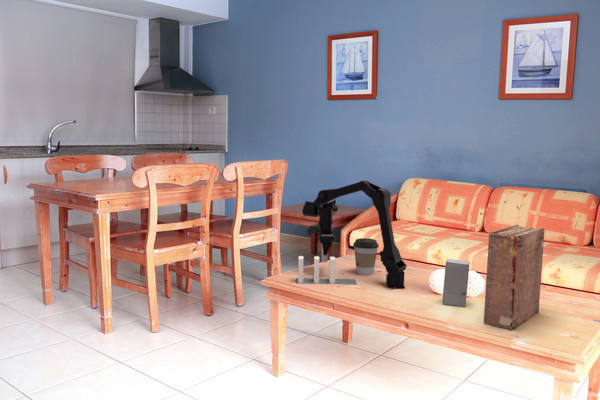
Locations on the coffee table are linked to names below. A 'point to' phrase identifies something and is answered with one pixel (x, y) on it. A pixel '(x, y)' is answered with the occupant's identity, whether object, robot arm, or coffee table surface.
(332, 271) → the ivory domino
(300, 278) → the ivory end domino
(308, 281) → the mat
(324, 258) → the teal domino
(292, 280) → the coffee table surface
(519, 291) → the book
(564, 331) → the coffee table surface
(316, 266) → the ivory domino
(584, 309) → the coffee table surface
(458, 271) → the skincare box
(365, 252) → the coffee cup
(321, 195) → the robot arm
